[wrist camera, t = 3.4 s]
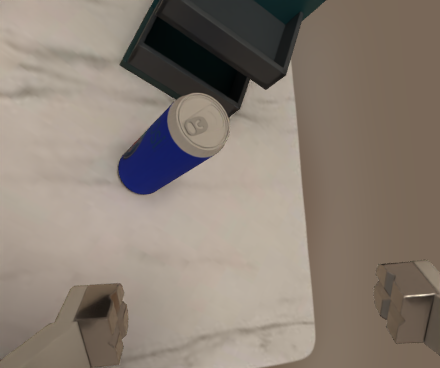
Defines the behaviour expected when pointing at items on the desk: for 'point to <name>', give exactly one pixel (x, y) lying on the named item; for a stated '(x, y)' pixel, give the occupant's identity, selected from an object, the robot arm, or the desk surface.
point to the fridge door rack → (216, 46)
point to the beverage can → (175, 143)
